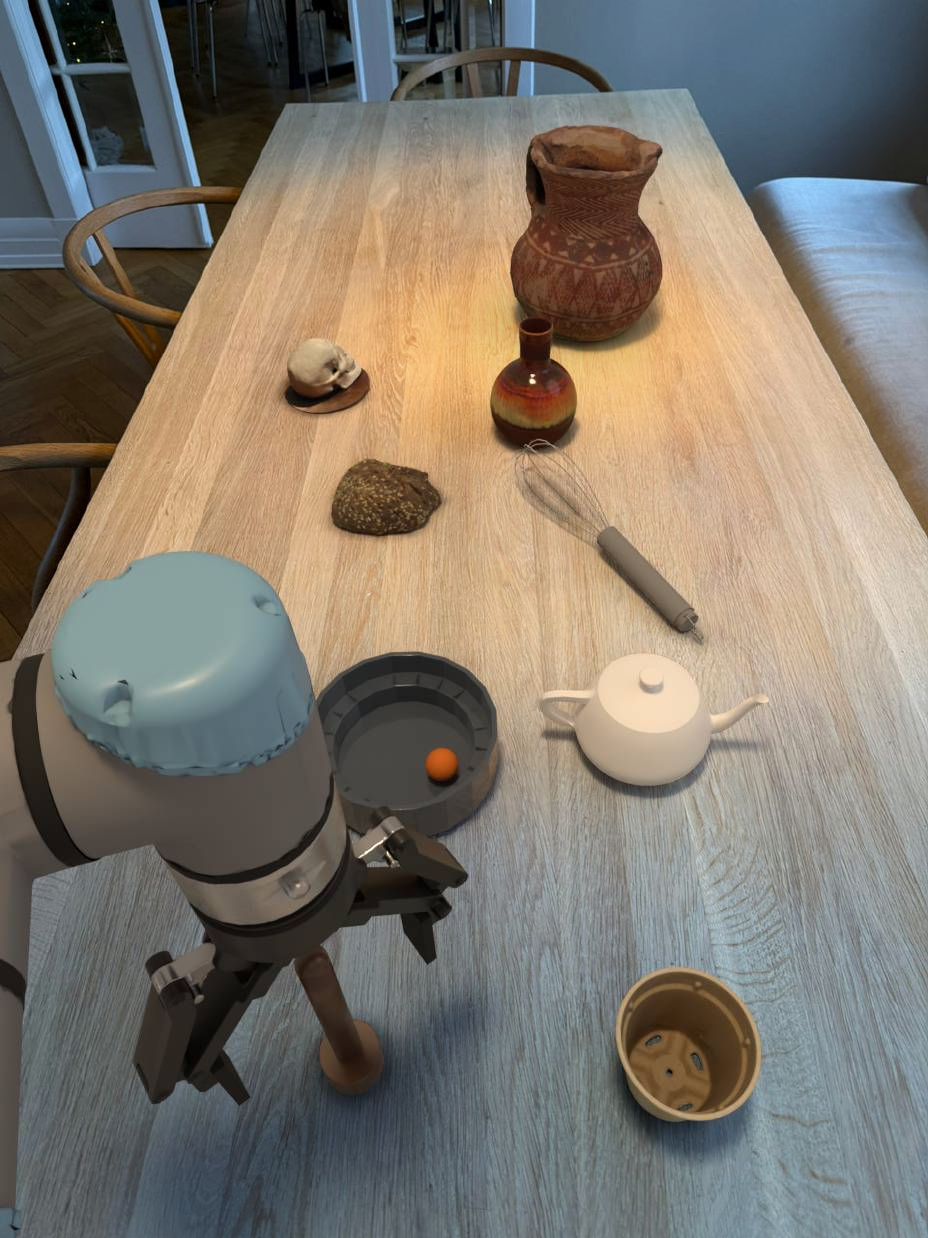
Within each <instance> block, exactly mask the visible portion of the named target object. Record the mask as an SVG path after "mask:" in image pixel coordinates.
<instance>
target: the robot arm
mask: <svg viewBox="0 0 928 1238" xmlns="http://www.w3.org/2000/svg"><path fill="white" fill-rule="evenodd" d="M369 819H370V823H371V825H372V827H373V828H371V829H369V830H368V831H367V832H366V834H364V836H362V837H361V838H359V839H358V840H356V841H354V843H352V838H351V835H350V831H349V828H348V827H349V826H348V825H347V824H346V822H345V818H344V814H343V810H342V806H341V802H340V799H339V795H338V791H337V787H336V783H335V779H334V776H333V773H332V769H331V765H330V760H329V756H328V751H327V747H326V743H325V739H324V734H323V730H322V726H321V721H320V717H319V713H318V708H317V704H316V696H315V691H314V687H313V683H312V678H311V675H310V671H309V668H308V662H307V659H306V656H305V654H304V652H303V651H302V650H301V648H300V646H299V643H298V640H297V637H296V634H295V631H294V628H293V625H292V623H291V619H290V616H289V614H288V612H287V610H286V608H285V605H284V603H283V601H282V599H281V598H280V596H279V595H278V593H277V591H276V590H275V588H274V587H273V586H272V585H271V584H270V582H269V581H268V580H267V579H265V578H264V577H263V576H262V575H261V574H259V573H258V572H257V571H256V570H254V569H253V568H251V567H249V566H248V565H246V564H244V563H242V562H241V561H238V560H235V559H233V558H231V557H227V556H224V555H221V554H216V553H210V552H204V551H196V550H192V551H191V550H181V551H178V550H177V551H168V552H162V553H157V554H152V555H148V556H144V557H142V558H139V559H135V560H133V561H130V562H128V564H127V566H126V568H125V570H124V571H123V572H122V573H119V574H118V575H117V576H115V577H113V578H111V579H97V580H95V581H94V582H92V583H90V584H89V585H88V586H86V587H85V589H84V590H82V591H81V592H80V593H79V594H78V595H77V596H76V597H75V598H74V600H73V601H71V603H70V604H69V605H68V607H67V608H66V610H65V611H64V613H63V614H62V615H61V617H60V618H59V622H58V624H57V625H56V629H55V631H54V634H53V636H52V641H51V648H48V649H47V650H46V651H45V652H42V653H38V654H33V655H30V656H25V657H21V658H15V659H11V660H6V661H1V662H0V1238H19V1237H20V1235H21V1231H22V1211H21V1210H19V1209H16V1203H17V1201H16V1199H17V1177H18V1176H17V1175H18V1149H19V1125H20V1123H19V1122H20V1103H21V1102H20V1098H21V1096H20V1095H21V1074H22V1073H21V1072H22V1051H23V1023H24V1012H25V1008H26V1007H25V1006H26V993H27V989H28V980H29V979H28V978H29V960H30V959H29V957H30V941H31V940H30V939H31V921H32V917H31V916H32V902H33V901H32V900H33V884H34V881H35V880H36V879H39V878H43V877H45V876H48V875H52V874H55V873H58V872H62V871H66V870H69V869H72V868H76V867H79V866H83V865H87V864H90V863H94V862H97V861H100V860H101V859H102V858H105V857H109V856H113V855H116V854H120V853H124V852H127V851H131V850H135V849H140V848H143V847H146V846H147V847H148V846H151V845H152V846H153V847H154V849H155V850H156V852H157V854H158V855H159V857H160V858H161V860H162V862H163V863H164V865H165V867H166V868H167V869H168V871H169V873H170V875H171V876H172V878H173V879H174V881H175V883H176V884H177V886H178V887H179V889H180V890H181V892H182V894H183V896H184V897H185V898H186V900H187V901H188V904H189V906H190V907H191V909H192V911H193V912H194V914H195V916H196V917H197V919H198V920H199V922H200V923H201V925H202V927H203V928H204V930H203V931H204V932H203V934H202V940H201V945H199V946H197V947H195V948H194V949H192V950H191V951H189V952H187V953H186V954H183V955H177V956H176V957H174V958H173V957H172V955H171V952H170V951H168V950H161V951H158V952H156V953H154V954H153V955H151V956H150V957H149V958H148V959H147V960H146V962H145V963H144V968H145V970H146V973H147V975H148V977H149V979H150V981H151V985H150V989H149V992H148V997H147V1000H146V1004H145V1008H144V1013H143V1017H142V1020H141V1025H140V1028H139V1032H138V1037H137V1041H136V1045H135V1049H134V1054H133V1057H132V1064H133V1066H134V1069H135V1071H136V1073H137V1075H138V1077H139V1079H140V1081H141V1084H142V1086H143V1088H144V1090H145V1093H146V1095H147V1097H148V1099H149V1101H150V1104H151V1105H159V1104H161V1103H163V1102H164V1101H166V1100H167V1099H168V1098H170V1097H171V1096H172V1095H173V1093H174V1091H175V1088H176V1086H177V1083H179V1082H182V1081H186V1083H187V1085H192V1086H193V1087H194V1088H195V1089H196V1090H197V1091H198V1092H199V1093H206V1092H208V1091H209V1090H210V1089H212V1088H213V1087H215V1086H216V1085H217V1084H219V1085H220V1086H221V1087H222V1088H223V1089H224V1090H225V1091H226V1093H227V1094H228V1095H229V1096H230V1097H231V1099H232V1100H233V1101H234V1102H235V1103H236V1105H238V1107H240V1106H242V1105H243V1104H244V1103H246V1102H247V1101H248V1100H250V1099H251V1095H250V1094H249V1091H248V1090H247V1087H246V1086H245V1084H244V1082H243V1080H242V1078H241V1077H240V1075H239V1072H238V1071H237V1069H236V1067H235V1065H234V1063H233V1061H232V1059H231V1058H230V1056H229V1055H228V1054H227V1052H226V1050H224V1047H225V1046H226V1044H227V1042H228V1041H229V1039H230V1038H231V1036H232V1034H233V1033H234V1031H235V1030H236V1028H237V1026H238V1025H239V1023H240V1021H241V1020H242V1018H243V1017H244V1015H245V1014H246V1012H247V1010H248V1009H249V1007H250V1005H251V1004H252V1002H253V1001H255V1000H258V999H261V998H264V997H265V996H267V993H268V992H269V990H270V988H271V987H272V985H273V984H274V983H275V981H276V979H277V978H278V976H279V974H280V973H281V971H282V969H283V968H286V967H288V966H289V965H290V964H291V963H292V962H293V961H294V960H295V958H296V957H298V956H301V955H303V954H305V953H307V952H309V951H311V950H313V949H314V948H316V947H317V946H319V945H320V946H321V945H322V944H323V943H324V942H326V941H327V940H328V939H329V938H330V937H331V936H333V934H334V933H337V932H338V931H339V930H340V928H341V929H343V928H352V927H361V926H366V925H367V923H368V922H369V921H370V920H371V918H372V917H383V916H393V915H394V916H395V915H400V921H401V926H402V932H403V933H404V935H405V936H406V939H408V941H409V942H410V943H411V945H412V947H414V949H415V950H416V952H417V953H418V954H419V957H421V959H422V960H423V961H424V963H425V964H426V966H428V965H429V964H431V963H432V962H434V961H435V960H436V959H437V949H436V948H437V947H436V942H435V935H434V934H435V933H434V925H435V924H437V923H438V922H440V921H442V920H444V919H445V918H446V917H448V916H449V914H451V912H452V911H453V906H452V905H451V903H450V902H449V900H448V899H447V898H446V897H445V895H444V894H443V893H444V892H445V891H446V890H447V889H448V888H451V889H458V888H460V887H461V886H463V885H464V884H465V883H466V882H467V881H468V878H469V873H468V872H467V871H466V869H465V868H464V867H463V866H462V864H461V863H460V862H459V861H458V859H457V858H456V857H455V855H453V854H452V852H451V851H450V850H449V849H448V847H447V846H446V845H445V844H444V843H442V842H440V841H439V840H436V839H434V838H431V837H430V836H428V837H427V836H425V835H423V834H421V833H419V832H416V831H414V830H412V829H410V828H408V827H406V826H403V825H402V824H401V822H400V821H399V820H398V819H397V817H396V816H395V815H394V814H393V812H392V811H391V810H390V808H389V807H388V806H381V807H379V808H378V809H376V810H375V811H374V812H373V813H372V814H371V816H370V818H369ZM372 862H377V863H381V864H382V863H386V864H387V866H368V865H369V864H371V863H372Z"/></svg>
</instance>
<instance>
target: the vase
mask: <svg viewBox="0 0 928 1238" xmlns="http://www.w3.org/2000/svg"><path fill="white" fill-rule="evenodd" d="M552 334H553V323H552V322H551V321H550V320H549V319H547V318H544V317H536V316H535V317H526V318H523V319H522V320H521V321H520V322H519V324H518V339H519V357H518V358H516V359H514V360H512V361H510V362H509V363H508V364H507V365H506V366H505V367H503V368H502V370H501V371H500V372H499V373H498V374H497V376H496V378H495V379H494V382H493V385H492V387H491V391H490V399H489V404H490V405H489V406H490V414H491V418H492V421H493V423H494V426H495V428H496V430H497V432H498V433H499V434H500V436H501V437H502V438H503V439H504V440H505V441H507V442H508V443H509V444H511V445H513V446H515V447H518V448H520V449H525V448H524V445H525V444H527V445H529V444H530V442H532V441H534V440H536V439H541V440H545V441H547V442H549V443H550V444H551V445H553V446H554V445H555V444H556V443H558V442H559V441H561V440H562V439H563V438H564V436H566V434H567V433H568V431H569V430H570V428H571V426H572V424H573V422H574V419H575V416H576V412H577V406H578V394H577V393H578V392H577V389H576V385H575V382H574V380H573V377H572V376H571V374H570V373H569V371H568V370H567V369H566V368H565V367H564V365H562V364H561V363H559V362H558V361H557V360H554V358H551V351H552V350H551V349H552V342H553V336H552ZM547 442H544V441H540V440H537V441H534V442H532V443H531V444H530V446H529V447H531V446H533V445H535V444H542V443H547ZM547 444H548V443H547ZM547 444H542V445H535V446H533V447H531V448H532V449H533V450H540V449H546V448H549V447H551V446H550V445H547ZM525 447H526V448H527V446H525ZM529 447H528V448H529ZM529 450H531V449H530V448H529Z"/></svg>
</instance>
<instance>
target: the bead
mask: <svg viewBox="0 0 928 1238" xmlns="http://www.w3.org/2000/svg"><path fill="white" fill-rule="evenodd" d="M425 767H426V771H427V773H428V775H429V776H430V777H431V778H432V779H434V780H436V781H441V782H443V781H448V780H450V779H451V778H453V777H454V776H455V774H456V773H457V770H458V759H457V757H456V755H455V754H454V753H453V752H452V751H451V750H449V749H446V748H438V749H435V750H433V751H432V752H431V753H430V754H429V755H428V757H427V759H426V763H425Z"/></svg>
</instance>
